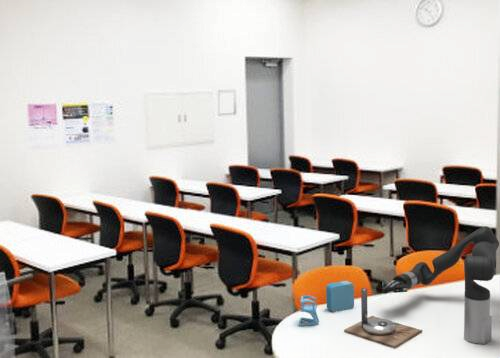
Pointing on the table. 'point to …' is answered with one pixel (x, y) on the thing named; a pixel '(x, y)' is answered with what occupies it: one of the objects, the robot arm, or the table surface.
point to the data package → (340, 296)
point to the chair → (309, 311)
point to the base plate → (388, 340)
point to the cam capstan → (375, 320)
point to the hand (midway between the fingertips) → (383, 291)
